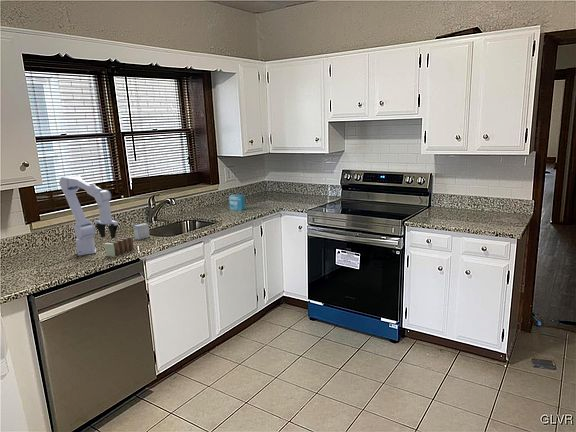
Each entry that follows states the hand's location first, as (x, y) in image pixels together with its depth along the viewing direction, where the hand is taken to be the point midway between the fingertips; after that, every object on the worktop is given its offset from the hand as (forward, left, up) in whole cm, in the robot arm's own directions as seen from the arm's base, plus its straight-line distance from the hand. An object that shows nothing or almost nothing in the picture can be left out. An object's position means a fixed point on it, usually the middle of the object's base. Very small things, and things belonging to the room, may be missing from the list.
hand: (108, 237), depth 236 cm
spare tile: (0, 0, -10) cm, 10 cm away
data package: (+104, +79, -11) cm, 131 cm away
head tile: (+11, +9, -10) cm, 18 cm away
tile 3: (+6, +5, -10) cm, 13 cm away
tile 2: (+8, +7, -10) cm, 15 cm away
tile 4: (+3, +2, -10) cm, 11 cm away
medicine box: (+22, +30, -11) cm, 39 cm away
